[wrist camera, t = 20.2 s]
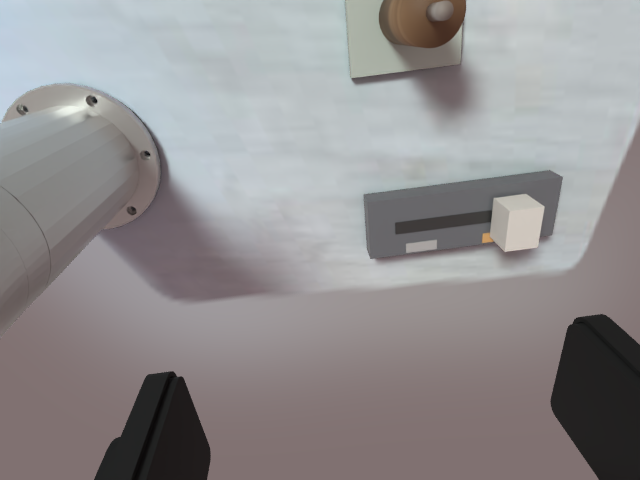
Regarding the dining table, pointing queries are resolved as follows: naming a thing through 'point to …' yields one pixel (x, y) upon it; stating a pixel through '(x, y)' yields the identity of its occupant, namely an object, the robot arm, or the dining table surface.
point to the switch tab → (516, 222)
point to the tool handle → (421, 21)
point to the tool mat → (389, 45)
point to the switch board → (450, 213)
